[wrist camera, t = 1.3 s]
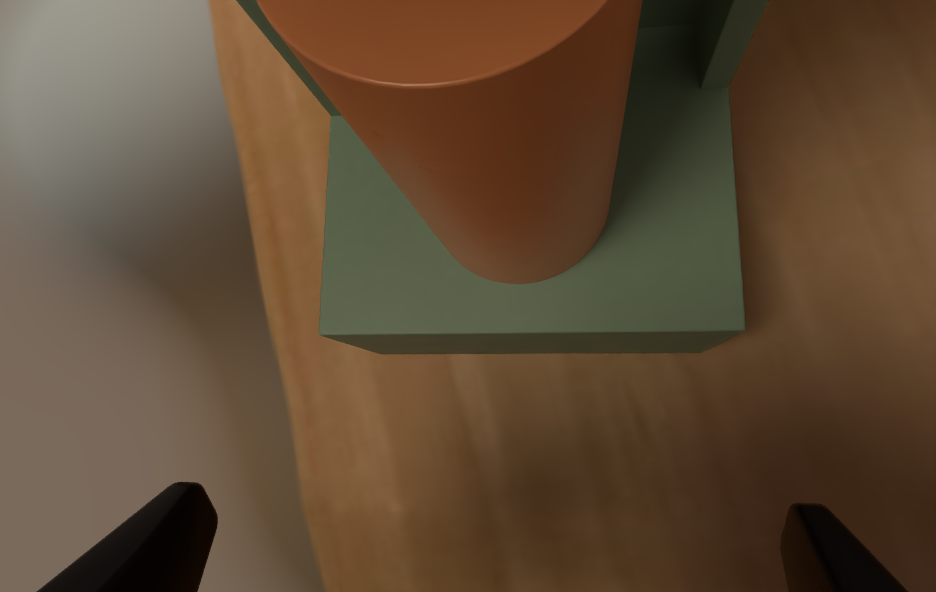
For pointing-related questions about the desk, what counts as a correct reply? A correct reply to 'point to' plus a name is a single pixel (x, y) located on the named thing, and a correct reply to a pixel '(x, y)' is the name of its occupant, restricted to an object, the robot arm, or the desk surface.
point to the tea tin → (481, 114)
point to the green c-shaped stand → (614, 253)
